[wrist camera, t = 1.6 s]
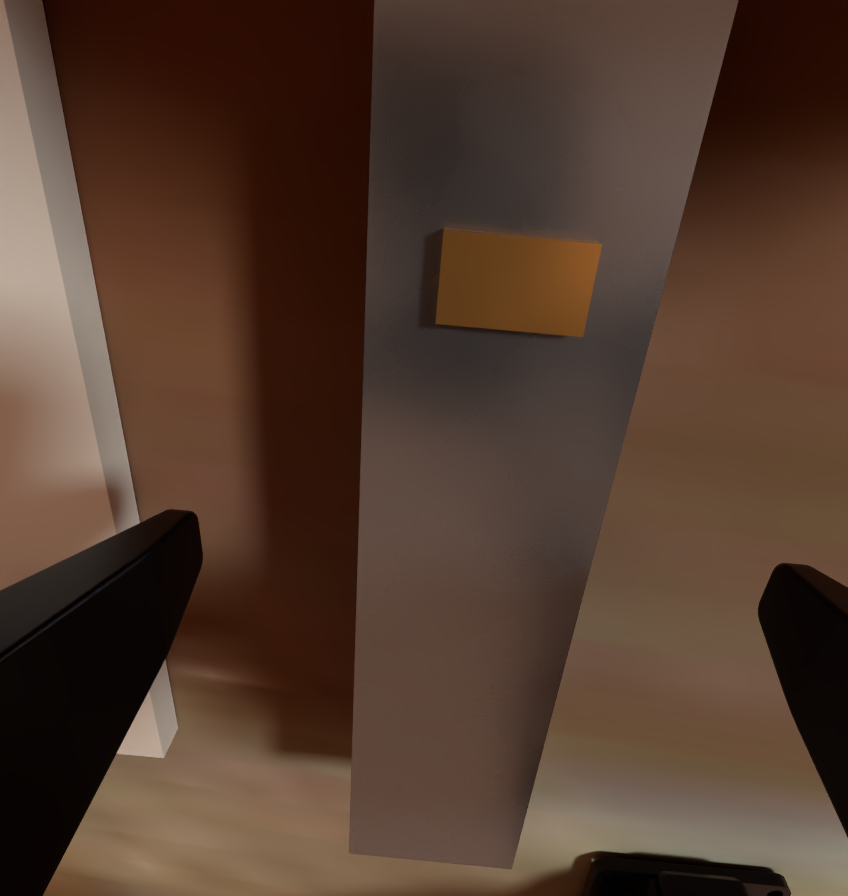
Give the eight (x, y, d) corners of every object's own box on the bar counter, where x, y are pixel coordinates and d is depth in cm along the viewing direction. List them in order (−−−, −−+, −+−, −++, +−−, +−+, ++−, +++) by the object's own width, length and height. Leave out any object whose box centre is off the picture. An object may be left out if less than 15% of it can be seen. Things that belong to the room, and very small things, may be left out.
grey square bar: (500, 725, 18) (512, 883, 14) (370, 713, 18) (347, 866, 14) (684, -175, 9) (862, -424, 5) (415, -196, 9) (383, -461, 5)
